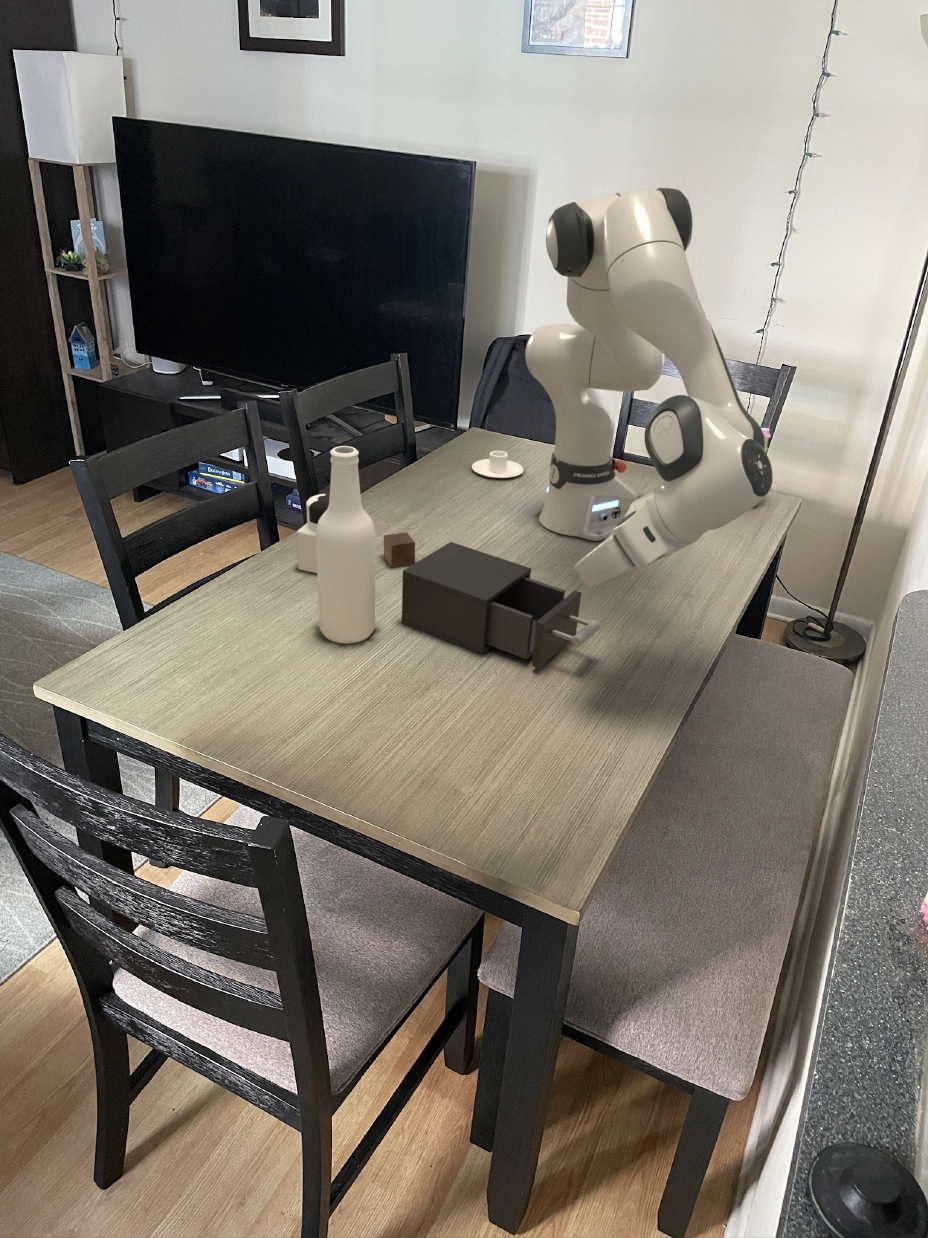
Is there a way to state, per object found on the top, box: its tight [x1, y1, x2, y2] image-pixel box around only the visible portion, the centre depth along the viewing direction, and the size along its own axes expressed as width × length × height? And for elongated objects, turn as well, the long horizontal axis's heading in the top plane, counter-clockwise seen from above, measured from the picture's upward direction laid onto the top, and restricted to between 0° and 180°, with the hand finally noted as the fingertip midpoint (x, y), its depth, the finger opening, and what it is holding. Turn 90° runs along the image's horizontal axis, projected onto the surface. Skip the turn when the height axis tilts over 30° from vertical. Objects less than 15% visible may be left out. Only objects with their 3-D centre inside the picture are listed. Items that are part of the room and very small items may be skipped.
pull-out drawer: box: [486, 577, 601, 669], centre depth 138 cm, size 20×12×8 cm, turn 57°
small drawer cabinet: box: [401, 541, 532, 655], centre depth 144 cm, size 16×14×10 cm
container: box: [296, 493, 330, 574], centre depth 158 cm, size 8×8×13 cm
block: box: [383, 531, 416, 568], centre depth 163 cm, size 4×4×4 cm
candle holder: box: [471, 450, 524, 479], centre depth 205 cm, size 12×12×4 cm
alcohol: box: [316, 445, 376, 644], centre depth 134 cm, size 9×9×30 cm
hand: (585, 567), depth 129 cm, fingers closed
